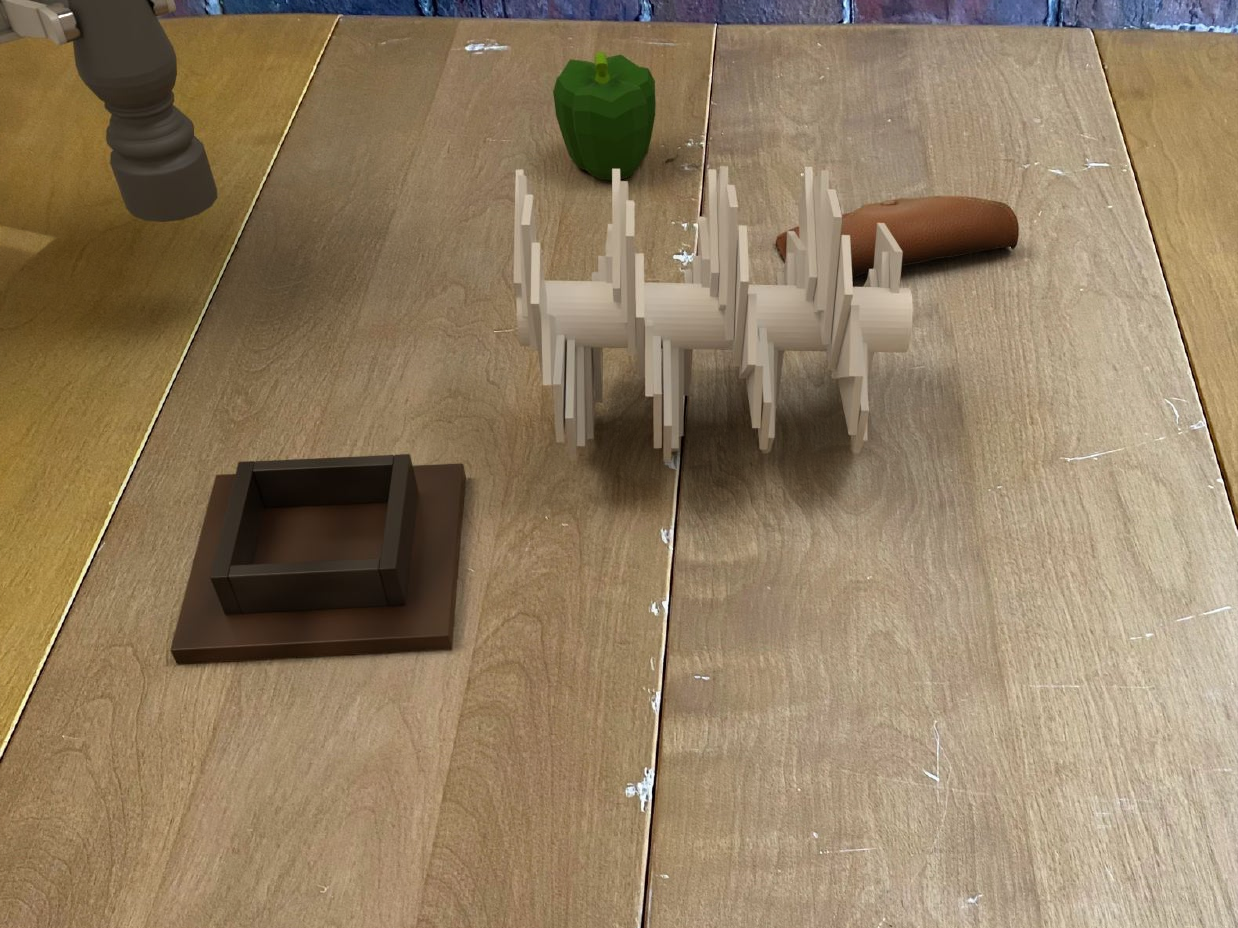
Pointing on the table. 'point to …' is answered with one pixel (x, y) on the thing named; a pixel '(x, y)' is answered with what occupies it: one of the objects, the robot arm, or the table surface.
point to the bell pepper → (605, 113)
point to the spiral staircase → (710, 312)
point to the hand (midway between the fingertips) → (116, 15)
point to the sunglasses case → (925, 228)
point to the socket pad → (324, 560)
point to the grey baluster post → (142, 110)
